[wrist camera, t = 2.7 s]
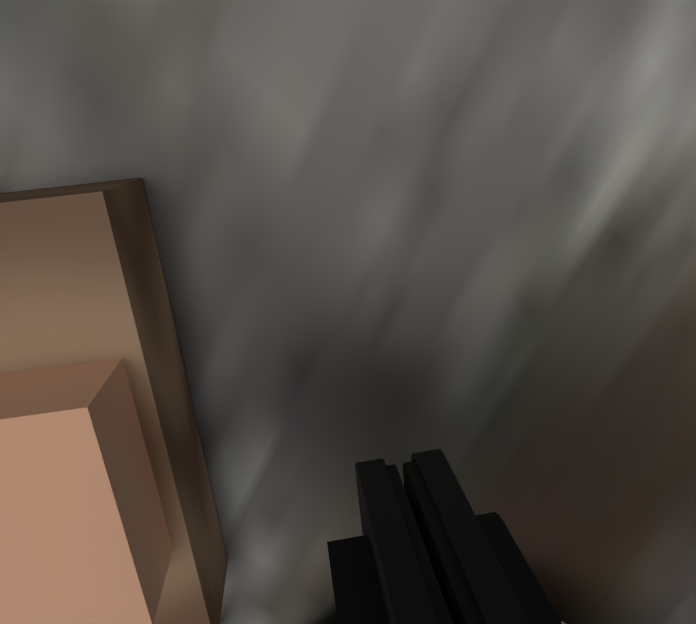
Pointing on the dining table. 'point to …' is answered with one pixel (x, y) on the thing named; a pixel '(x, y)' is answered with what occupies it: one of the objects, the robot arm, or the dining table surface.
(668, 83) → the dining table surface
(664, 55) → the dining table surface
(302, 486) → the dining table surface
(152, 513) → the terracotta tile
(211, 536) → the brown square slab
